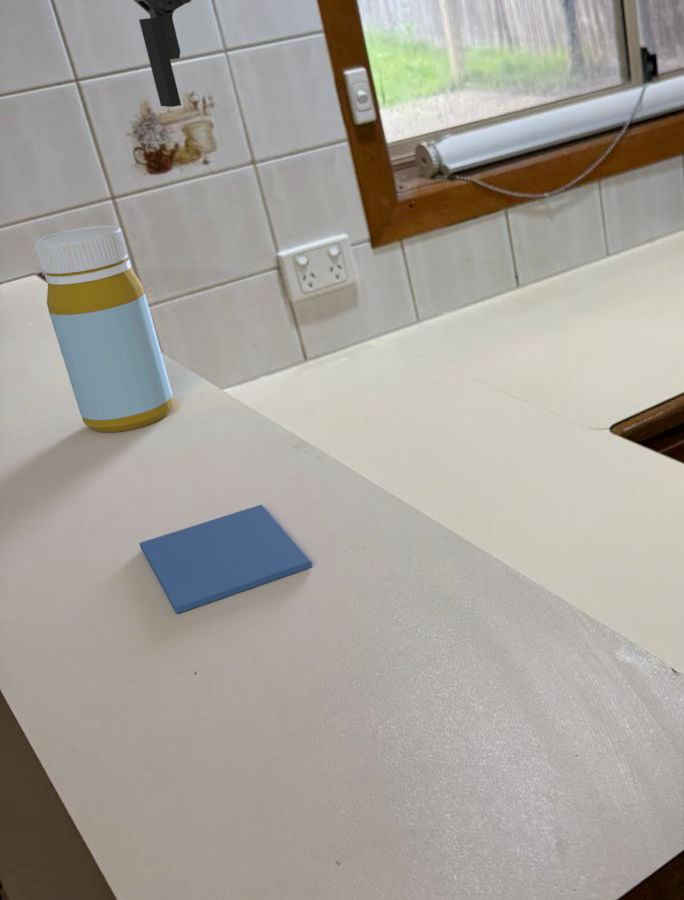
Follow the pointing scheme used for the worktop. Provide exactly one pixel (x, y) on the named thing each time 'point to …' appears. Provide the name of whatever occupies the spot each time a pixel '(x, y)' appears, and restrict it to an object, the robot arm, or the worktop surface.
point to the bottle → (104, 329)
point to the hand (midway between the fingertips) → (82, 120)
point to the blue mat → (222, 557)
